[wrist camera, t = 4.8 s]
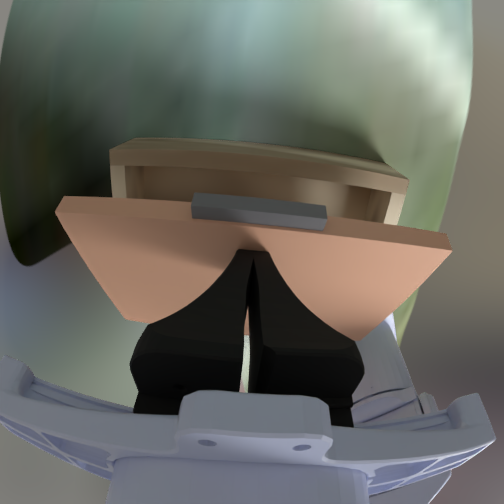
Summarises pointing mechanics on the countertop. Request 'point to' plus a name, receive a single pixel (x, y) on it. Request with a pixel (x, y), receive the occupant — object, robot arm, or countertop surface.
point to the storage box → (257, 175)
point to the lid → (249, 238)
